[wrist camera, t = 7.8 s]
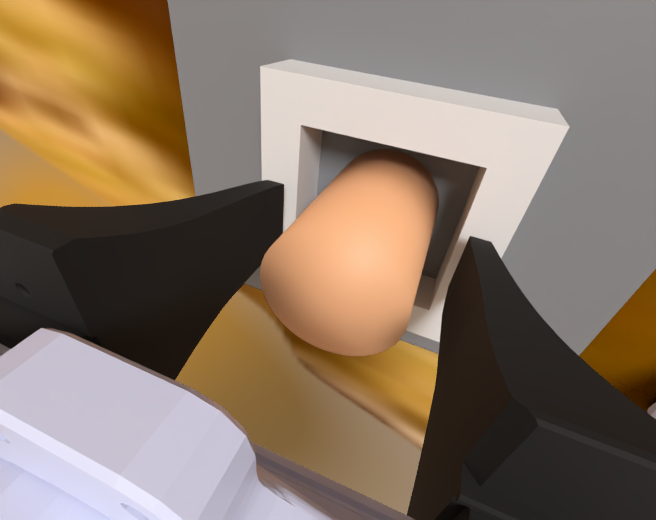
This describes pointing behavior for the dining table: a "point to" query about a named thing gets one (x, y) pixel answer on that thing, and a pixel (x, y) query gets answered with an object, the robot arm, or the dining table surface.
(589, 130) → the dock board
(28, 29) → the dining table surface
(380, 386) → the dining table surface
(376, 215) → the peach rounded egg part
